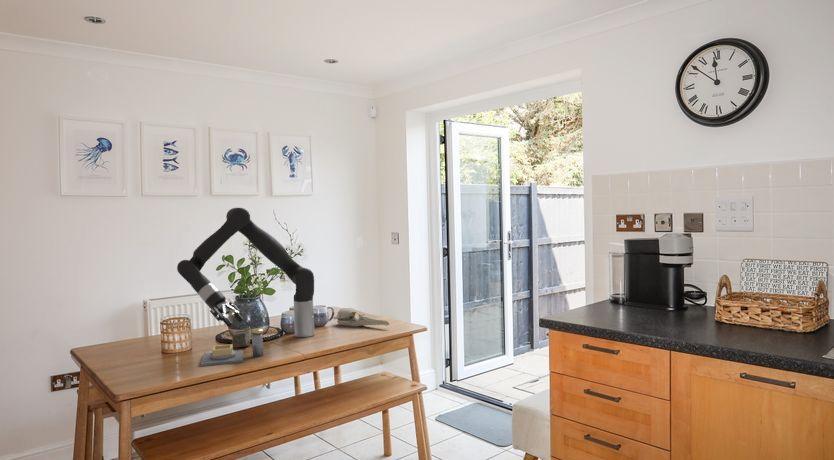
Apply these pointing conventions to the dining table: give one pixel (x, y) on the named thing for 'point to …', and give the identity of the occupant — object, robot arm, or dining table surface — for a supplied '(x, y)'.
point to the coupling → (257, 342)
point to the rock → (241, 338)
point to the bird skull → (348, 319)
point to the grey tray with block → (222, 356)
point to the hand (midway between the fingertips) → (236, 323)
